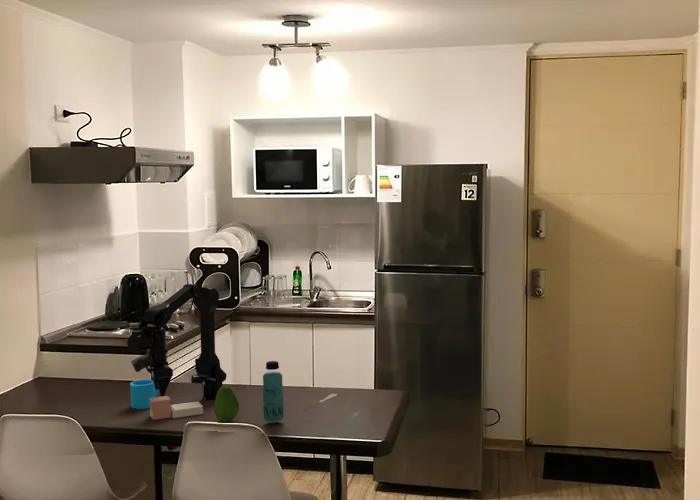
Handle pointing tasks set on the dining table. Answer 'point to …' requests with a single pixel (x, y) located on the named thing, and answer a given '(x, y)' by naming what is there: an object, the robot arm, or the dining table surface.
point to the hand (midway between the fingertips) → (159, 392)
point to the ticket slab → (186, 409)
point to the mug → (142, 393)
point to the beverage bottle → (272, 393)
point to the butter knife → (328, 397)
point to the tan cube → (160, 407)
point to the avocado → (226, 404)
